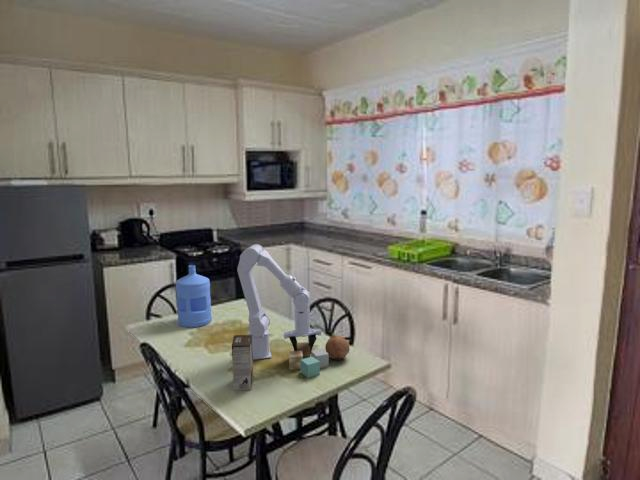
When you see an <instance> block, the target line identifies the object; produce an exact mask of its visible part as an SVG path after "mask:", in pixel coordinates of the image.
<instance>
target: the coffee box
mask: <svg viewBox="0 0 640 480" xmlns="http://www.w3.org/2000/svg"><path fill="white" fill-rule="evenodd" d="M231 359H232V365H231V366H232V387H233V391H249V390H250V391H251V390H253V383H254V360H253V352H252V335H248V334H236V335H233V339H232V343H231Z"/></svg>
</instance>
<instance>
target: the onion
mask: <svg viewBox="0 0 640 480" xmlns="http://www.w3.org/2000/svg"><path fill="white" fill-rule="evenodd" d="M324 350H325V351H326V352H327V353H328V354H329V357H330V358H331V359H333V360H336V361H341V360H343V359H344V358H346V357H347V355H348V354H349V353H350V344H349V342H348V340H347V339H346V338H344V337H343V336H339V335H336V334H332V336H330V337H329V338H328V340H327V341H326V343H325V348H324Z"/></svg>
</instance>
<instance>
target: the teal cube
mask: <svg viewBox="0 0 640 480" xmlns="http://www.w3.org/2000/svg"><path fill="white" fill-rule="evenodd" d="M320 371H321V368H320V361H318V360H317V359H315V358H314V357H311V356H310V357H309V358H305V359H302V360H301V369H300V373H301V374H303V376H305V377H306V378H307V379H309V378H312V377H315V376H319V375H320Z"/></svg>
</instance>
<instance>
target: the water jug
mask: <svg viewBox="0 0 640 480" xmlns="http://www.w3.org/2000/svg"><path fill="white" fill-rule="evenodd" d="M175 290H176V302H177V303H176V304H177V305H176V306H177V323H178V325H179V326H180V327H183V328H200V327H203V326H207V325H209V324H210V323H211V322H212V307H211V305H212V300H211V282H210V278H208V277H206V276H203V275H200V274H197V272H196V265H195V264H190V265H188V274H187V275H185V276H182V277H181V278H179V279H178V280H176V281H175Z"/></svg>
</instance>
